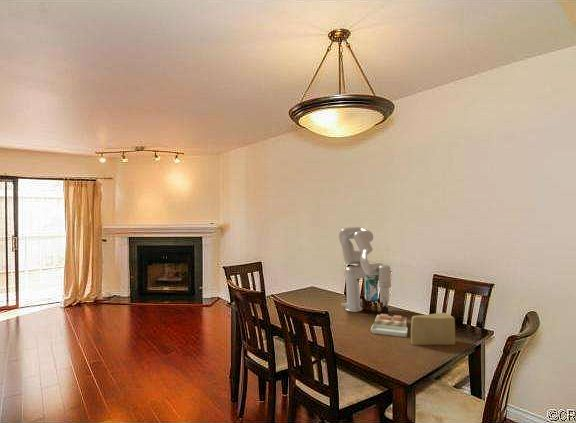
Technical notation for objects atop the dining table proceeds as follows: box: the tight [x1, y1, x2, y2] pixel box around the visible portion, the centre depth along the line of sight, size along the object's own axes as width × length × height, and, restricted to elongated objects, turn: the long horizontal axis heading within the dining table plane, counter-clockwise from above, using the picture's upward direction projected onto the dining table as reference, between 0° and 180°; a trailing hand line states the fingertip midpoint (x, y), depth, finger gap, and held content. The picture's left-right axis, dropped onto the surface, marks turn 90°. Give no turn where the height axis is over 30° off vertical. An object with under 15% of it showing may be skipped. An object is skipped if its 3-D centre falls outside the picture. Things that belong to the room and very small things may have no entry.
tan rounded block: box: [410, 312, 456, 346], centre depth 176 cm, size 22×10×15 cm, turn 95°
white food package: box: [374, 314, 408, 327], centre depth 204 cm, size 18×12×4 cm, turn 67°
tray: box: [370, 323, 409, 338], centre depth 193 cm, size 20×10×2 cm, turn 67°
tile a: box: [379, 313, 389, 320], centre depth 205 cm, size 4×4×2 cm
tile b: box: [393, 314, 403, 321], centre depth 202 cm, size 4×4×2 cm
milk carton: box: [363, 275, 379, 302], centre depth 267 cm, size 9×9×25 cm
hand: (385, 312), depth 213 cm, fingers closed
